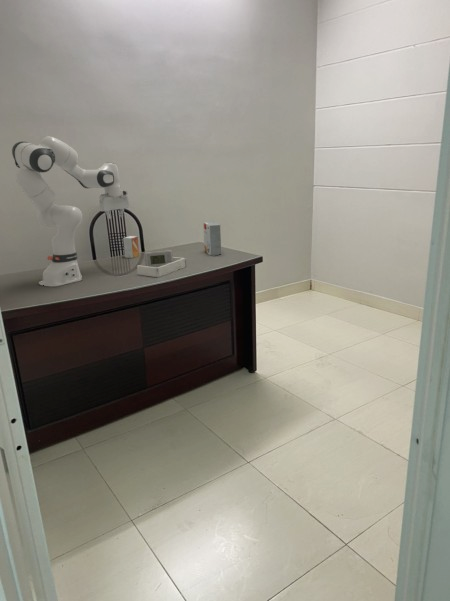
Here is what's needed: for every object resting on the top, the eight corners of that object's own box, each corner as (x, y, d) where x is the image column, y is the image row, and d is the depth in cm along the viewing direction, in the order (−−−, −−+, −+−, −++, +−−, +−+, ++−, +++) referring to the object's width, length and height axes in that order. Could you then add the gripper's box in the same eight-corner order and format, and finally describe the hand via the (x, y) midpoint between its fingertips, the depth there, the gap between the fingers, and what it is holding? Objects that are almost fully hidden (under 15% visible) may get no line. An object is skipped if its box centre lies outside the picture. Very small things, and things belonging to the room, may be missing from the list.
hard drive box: (204, 251, 289) (203, 222, 283) (215, 250, 291) (214, 221, 285) (210, 256, 275) (209, 225, 269) (221, 255, 277) (220, 224, 271)
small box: (133, 258, 275) (131, 238, 270) (124, 257, 277) (122, 237, 273) (139, 255, 282) (137, 236, 278) (131, 255, 284) (129, 235, 280)
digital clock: (145, 272, 238) (143, 253, 235) (146, 268, 246) (144, 250, 243) (174, 270, 240) (173, 252, 236) (174, 267, 248) (173, 249, 245)
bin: (158, 277, 227) (157, 268, 225) (137, 274, 234) (137, 265, 232) (186, 266, 249) (185, 258, 247) (166, 264, 255) (166, 256, 254)
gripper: (103, 194, 228) (106, 220, 232) (129, 191, 244) (131, 215, 249) (95, 194, 231) (98, 219, 235) (121, 191, 247) (123, 215, 252)
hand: (115, 217), depth 242 cm, fingers open, 8 cm apart
